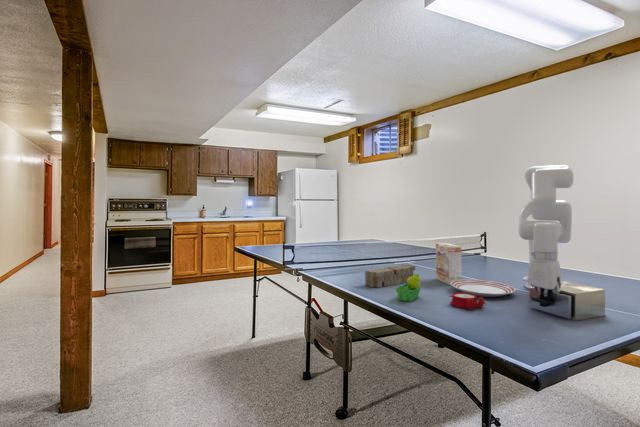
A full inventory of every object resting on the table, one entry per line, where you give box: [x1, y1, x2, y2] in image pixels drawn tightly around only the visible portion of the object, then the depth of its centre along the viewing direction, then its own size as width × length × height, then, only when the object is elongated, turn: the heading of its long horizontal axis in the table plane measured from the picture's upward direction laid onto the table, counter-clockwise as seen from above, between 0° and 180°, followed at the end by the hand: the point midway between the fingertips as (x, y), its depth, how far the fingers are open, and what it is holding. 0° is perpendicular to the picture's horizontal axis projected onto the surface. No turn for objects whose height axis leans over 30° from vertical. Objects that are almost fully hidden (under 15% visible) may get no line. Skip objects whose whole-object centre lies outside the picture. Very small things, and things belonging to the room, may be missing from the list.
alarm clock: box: [449, 291, 488, 311], centre depth 146 cm, size 10×6×15 cm
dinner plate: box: [450, 279, 517, 298], centre depth 167 cm, size 27×27×3 cm
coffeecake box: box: [435, 242, 462, 286], centre depth 190 cm, size 15×7×20 cm, turn 6°
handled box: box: [528, 287, 573, 320], centre depth 135 cm, size 19×15×8 cm
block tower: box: [364, 263, 416, 289], centre depth 189 cm, size 8×8×29 cm
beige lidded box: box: [536, 280, 606, 322], centre depth 137 cm, size 16×17×10 cm
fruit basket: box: [395, 273, 422, 302], centre depth 157 cm, size 11×9×11 cm
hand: (544, 306), depth 133 cm, fingers closed
